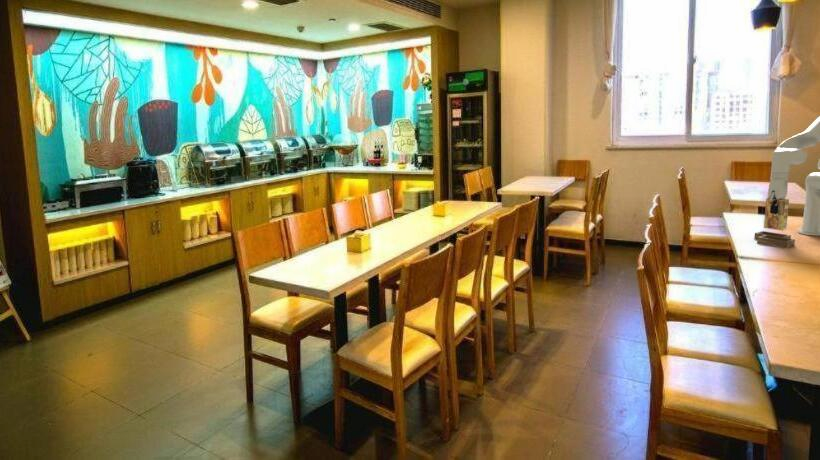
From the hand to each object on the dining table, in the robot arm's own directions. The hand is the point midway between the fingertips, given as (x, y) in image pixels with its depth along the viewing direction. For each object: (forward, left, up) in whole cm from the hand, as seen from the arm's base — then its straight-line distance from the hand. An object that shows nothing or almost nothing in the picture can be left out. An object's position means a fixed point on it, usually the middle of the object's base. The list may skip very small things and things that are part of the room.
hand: (776, 212), depth 272 cm
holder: (+5, +2, -14) cm, 15 cm away
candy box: (0, 0, -9) cm, 9 cm away
